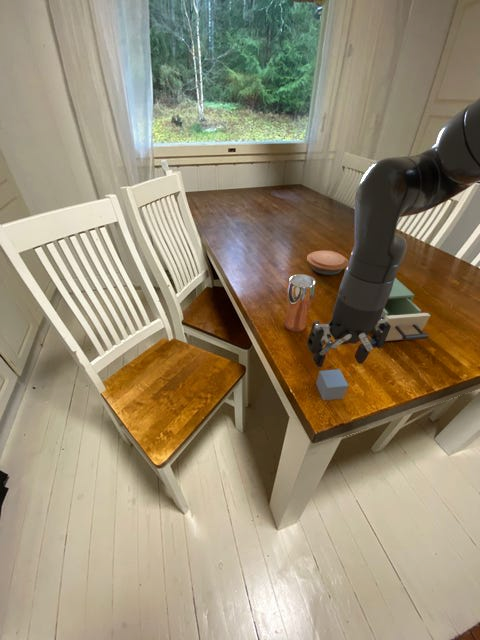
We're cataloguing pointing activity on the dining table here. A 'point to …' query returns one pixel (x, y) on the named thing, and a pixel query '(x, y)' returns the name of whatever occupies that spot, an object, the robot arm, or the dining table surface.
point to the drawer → (404, 320)
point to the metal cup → (299, 301)
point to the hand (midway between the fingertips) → (338, 362)
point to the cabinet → (399, 291)
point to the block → (331, 384)
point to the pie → (327, 262)
